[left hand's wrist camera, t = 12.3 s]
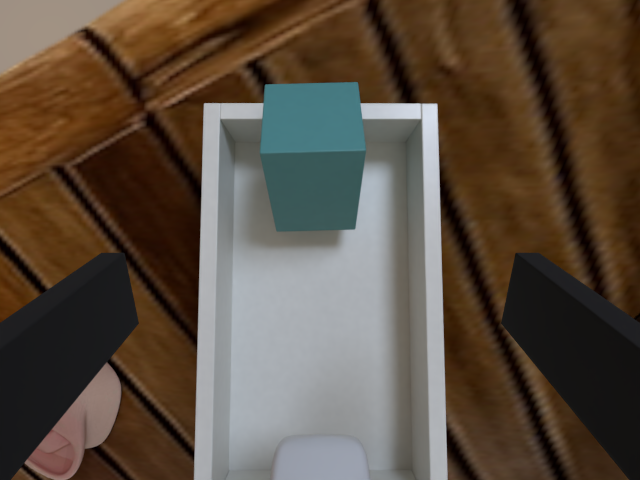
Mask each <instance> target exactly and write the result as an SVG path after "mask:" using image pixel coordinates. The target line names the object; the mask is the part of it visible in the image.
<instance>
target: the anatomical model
mask: <svg viewBox="0 0 640 480" xmlns="http://www.w3.org/2000/svg"><path fill="white" fill-rule="evenodd" d="M120 399H121V384H120V381H119V378H118V376H117V374H116V373H115V371H114V370H113V369H112V367H111V366H110V365H109V364H108V363H106V364H105V365H104V366H103V368H102V369H101V370H100V371H99V372H98V374H97V375H96V376H95V377H94V378H93V380H92V381H91V382H90V383H89V385H88V386H87V387H86V388H85V389H84V391H83V392H82V393H81V394H80V396H79V397H78V398H77V399H76V400H75V402H74V403H73V404H72V405H71V407H70V408H69V409H68V410H67V411H66V413H65V414H64V415H63V416H62V418H61V419H60V420H59V421H58V422H57V424H56V425H55V426H54V427H53V429H52V430H51V431H50V432H49V433H48V435H47V436H46V437H45V438H44V440H43V441H42V442H41V443H40V444H39V446H38V447H37V448H36V449H35V451H34V452H33V453H32V454H31V455H30V457H29V458H28V459H27V460H26V462H25V464H27V465H28V466H29V467H31V468H32V469H34V470H35V471H37V472H39V473H40V474H42V475H44V476H46V477H49V478H51V479H54V480H66V479H69V478H70V477H72V476H73V475H74V474H75V473H76V471H77V470H78V468H79V466H80V464H81V462H82V459H83V455H84V451H85V448H92V447H95V446H98V445H99V444H101V443H102V442H103V441H104V440H105V439H106V438H107V436H108V435H109V433H110V431H111V429H112V427H113V424H114V422H115V419H116V416H117V412H118V409H119V404H120Z"/></svg>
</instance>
